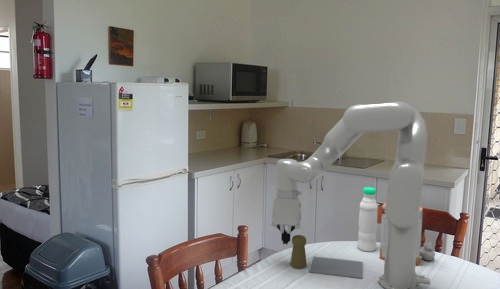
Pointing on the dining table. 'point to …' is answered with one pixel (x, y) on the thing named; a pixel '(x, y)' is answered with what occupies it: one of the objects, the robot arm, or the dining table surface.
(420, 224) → the cracker box
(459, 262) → the dining table surface
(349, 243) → the dining table surface
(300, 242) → the cork
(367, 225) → the water bottle
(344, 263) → the rubber mat
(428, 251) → the rubber duck
